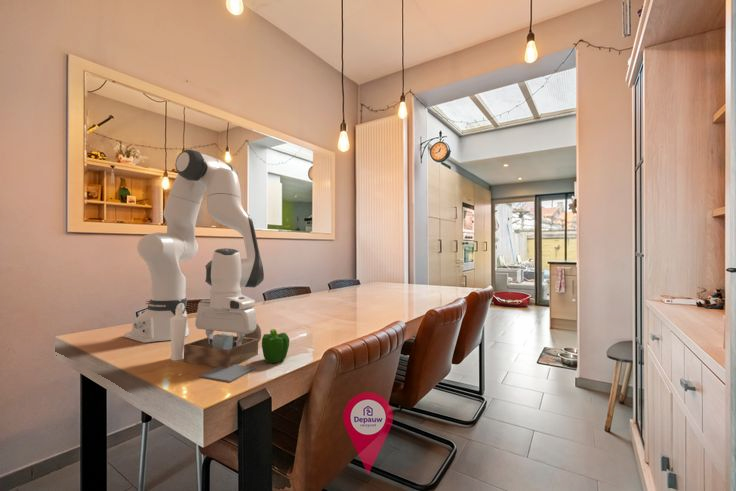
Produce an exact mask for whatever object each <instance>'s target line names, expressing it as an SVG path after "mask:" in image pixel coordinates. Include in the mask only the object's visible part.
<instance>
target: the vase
mask: <svg viewBox="0 0 736 491" xmlns="http://www.w3.org/2000/svg"><path fill="white" fill-rule="evenodd" d="M244 337H246V338H254V339H258V343H259V342H260V340H262V329H261V326H260V325H259V324H258V323H257V322H256V329H255V331H254V332H252V333H249V334H245V336H244Z"/></svg>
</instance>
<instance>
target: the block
mask: <svg viewBox="0 0 736 491" xmlns="http://www.w3.org/2000/svg"><path fill="white" fill-rule="evenodd" d="M218 334H219V335H216V334H215V335H216V336H213V348H217V349H224V350H230V349H232V345H233V336H234V335H233V334H228V333H224V332H223V333H218Z"/></svg>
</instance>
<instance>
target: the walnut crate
mask: <svg viewBox="0 0 736 491" xmlns="http://www.w3.org/2000/svg"><path fill="white" fill-rule="evenodd" d="M219 334H220V333H216V334H213V335H214V336H216V335H219ZM237 339H238V336H237V335H233V345H232V349H230V350H224V349H217V348H213V344H209V339H208V337H207V336H206V337H204V338H201V339H198V340H195V341H191V342H189V343H186V344H185V343H184V351H183V353H184V359H183V362H184V363H189V364H195V365H201V366H207V367H212V368H213V367H214V368H216V367H219V366H221V367H227V368H228V367H230V366H232V365H234V364H236V365H240V364H242V363H244V362H246V361H248V360H249V359H251V358H254V357H256V356H258V354H259V342H258V339H254V338H246V337H244V338H243V340H242V345H240V346H237V347H234V341H237Z"/></svg>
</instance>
